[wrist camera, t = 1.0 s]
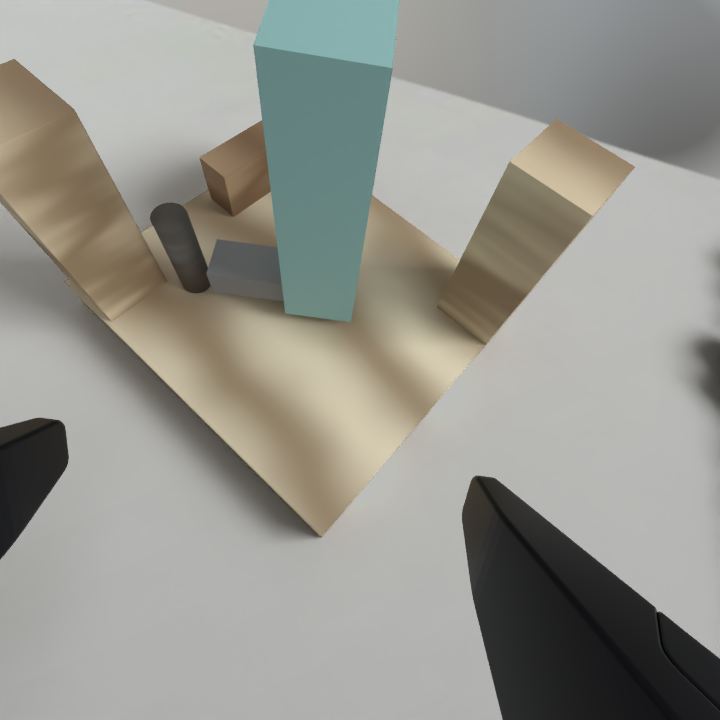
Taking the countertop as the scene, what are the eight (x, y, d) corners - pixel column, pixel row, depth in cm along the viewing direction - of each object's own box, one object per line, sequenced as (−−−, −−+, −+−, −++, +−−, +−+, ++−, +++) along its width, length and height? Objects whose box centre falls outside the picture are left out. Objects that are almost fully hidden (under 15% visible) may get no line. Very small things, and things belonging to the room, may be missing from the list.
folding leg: (210, 303, 22) (93, 18, 10) (225, 250, 24) (138, -53, 12) (350, 322, 22) (392, 68, 11) (357, 268, 24) (400, -7, 12)
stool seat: (320, 537, 20) (329, 521, 10) (82, 301, 24) (-103, 100, 14) (506, 321, 27) (637, 163, 16) (293, 160, 31) (282, -54, 20)
